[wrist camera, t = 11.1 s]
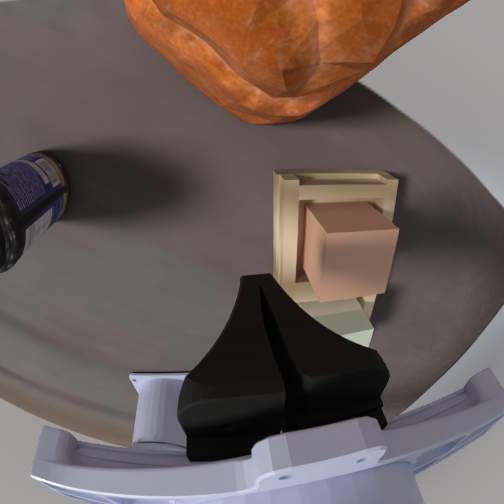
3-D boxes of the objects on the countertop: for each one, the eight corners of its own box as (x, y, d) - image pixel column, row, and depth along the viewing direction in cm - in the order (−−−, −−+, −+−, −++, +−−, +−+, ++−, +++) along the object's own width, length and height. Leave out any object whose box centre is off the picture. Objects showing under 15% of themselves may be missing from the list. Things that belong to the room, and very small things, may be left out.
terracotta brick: (357, 257, 23) (384, 292, 19) (301, 263, 23) (319, 302, 19) (365, 201, 21) (399, 228, 17) (303, 203, 20) (327, 233, 16)
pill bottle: (11, 158, 17) (-81, 211, 7) (65, 143, 17) (-35, 192, 8) (26, 225, 20) (-47, 300, 10) (79, 218, 20) (5, 304, 11)
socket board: (352, 334, 30) (361, 352, 28) (272, 346, 29) (276, 366, 27) (382, 170, 21) (400, 179, 19) (273, 170, 20) (281, 180, 18)
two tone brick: (351, 291, 25) (374, 328, 21) (343, 330, 28) (361, 367, 23) (298, 298, 25) (313, 340, 20) (295, 338, 27) (308, 378, 23)
